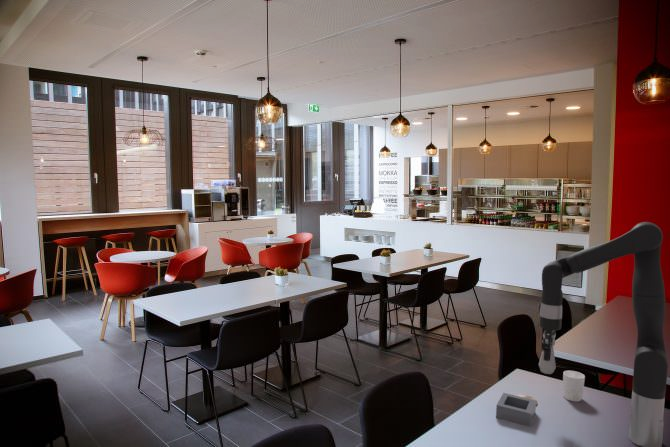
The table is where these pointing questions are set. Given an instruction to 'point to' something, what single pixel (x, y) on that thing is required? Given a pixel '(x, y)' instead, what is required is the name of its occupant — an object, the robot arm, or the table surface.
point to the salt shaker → (547, 362)
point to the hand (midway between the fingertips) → (547, 359)
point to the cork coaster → (527, 397)
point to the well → (516, 409)
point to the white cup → (573, 385)
